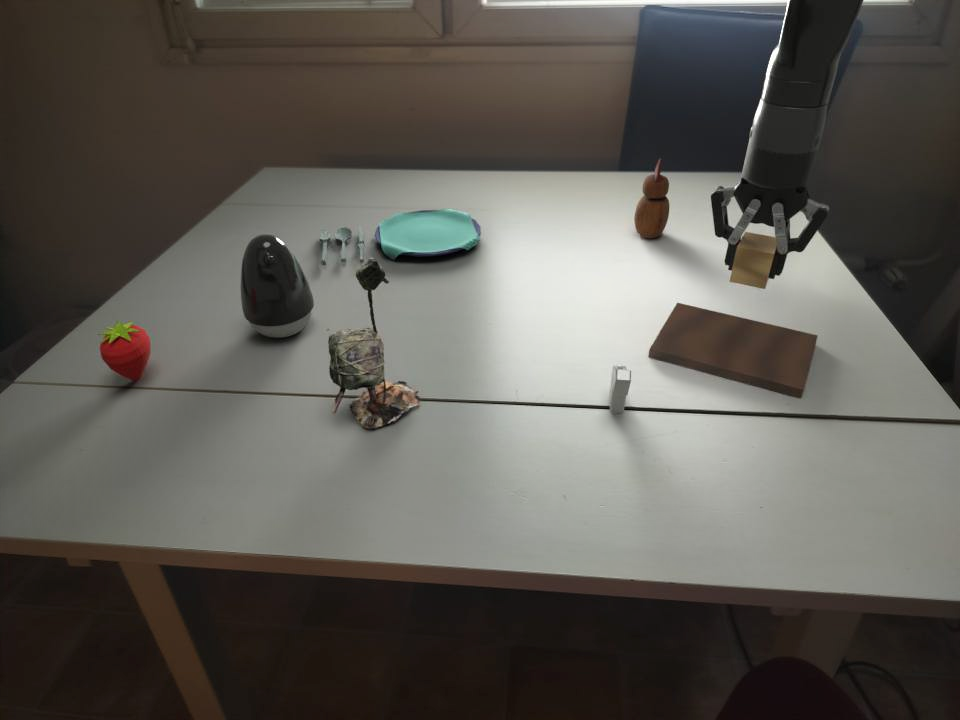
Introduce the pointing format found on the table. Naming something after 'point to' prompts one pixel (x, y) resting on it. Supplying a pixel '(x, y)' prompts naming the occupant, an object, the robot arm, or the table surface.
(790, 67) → the robot arm
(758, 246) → the beech block
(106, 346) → the strawberry
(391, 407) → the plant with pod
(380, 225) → the cutlery set
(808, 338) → the walnut board
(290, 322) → the black egg shaped dome
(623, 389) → the lighter
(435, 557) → the table surface
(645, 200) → the wooden figurine
